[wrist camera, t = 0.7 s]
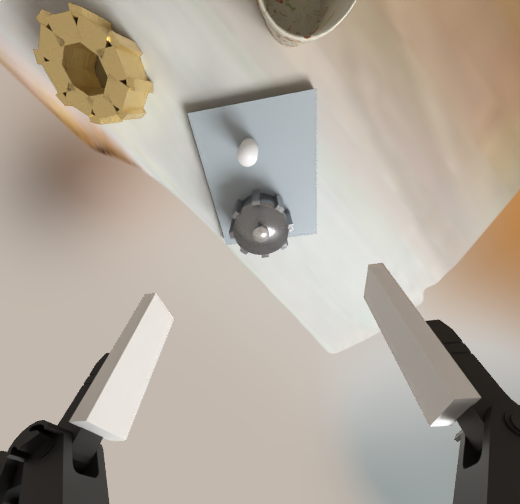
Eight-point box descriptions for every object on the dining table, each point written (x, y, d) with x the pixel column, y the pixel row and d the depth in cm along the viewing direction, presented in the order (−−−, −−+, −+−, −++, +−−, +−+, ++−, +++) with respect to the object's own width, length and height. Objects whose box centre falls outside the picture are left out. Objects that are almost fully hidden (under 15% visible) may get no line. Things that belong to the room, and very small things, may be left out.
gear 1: (52, 31, 23) (8, 16, 19) (129, 12, 22) (99, -8, 18) (100, 125, 28) (74, 129, 24) (164, 113, 28) (147, 115, 24)
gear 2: (226, 193, 32) (220, 209, 28) (287, 184, 31) (291, 198, 27) (239, 244, 38) (235, 264, 33) (291, 237, 37) (296, 257, 32)
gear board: (190, 112, 28) (171, 115, 22) (314, 89, 26) (328, 85, 20) (227, 240, 39) (221, 264, 33) (314, 229, 37) (324, 251, 32)
